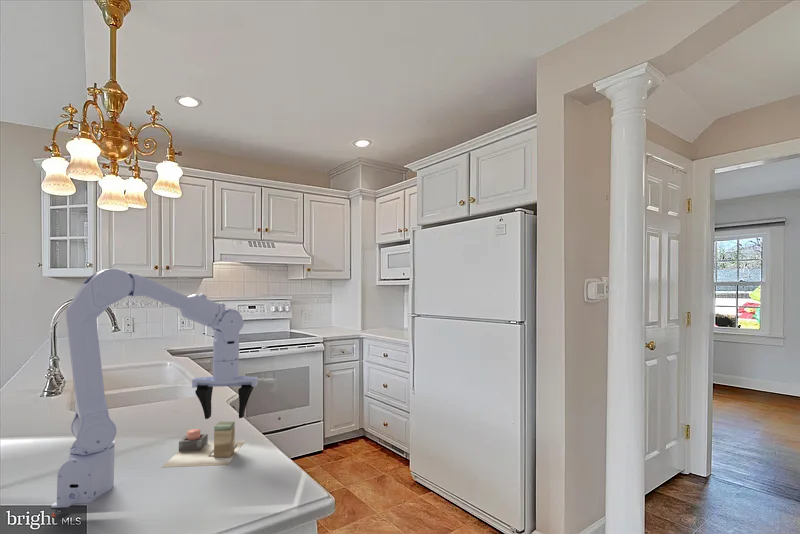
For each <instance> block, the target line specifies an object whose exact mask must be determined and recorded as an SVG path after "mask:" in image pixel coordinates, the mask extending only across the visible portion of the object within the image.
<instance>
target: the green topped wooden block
mask: <svg viewBox="0 0 800 534" xmlns="http://www.w3.org/2000/svg"><path fill="white" fill-rule="evenodd" d="M235 426H236V421H234V420H233V421H219V422H217V423H216V424H215V426H214V428H213V430H214V431H213V442H214V457H230V456H231V455H232V453H233V452H234V442H235V441H236V440H235V439H236V438H235V435H236V434H235V433H236V431H235V430H236V428H235Z"/></svg>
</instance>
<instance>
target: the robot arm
mask: <svg viewBox="0 0 800 534" xmlns="http://www.w3.org/2000/svg"><path fill="white" fill-rule="evenodd" d="M127 297H134V298H135V297H146V298H149V299H150V300H151V299H152V300H154V301H157V302H160V303H162V304H165V305H167V306H170V307H173V308H176V309H179V310H180V313H181V316H182V317H183V318H185V319H188V320H190V321H193V322H195V323H197V324H200V325H203V326H205V327H208V328H211V329H212V330H213V347H212V351H213V353H212V376H205V377H204V376H203V377H194V378H192V379H191V380H192V381H191V388H193V389H194V388H196V389H195V391H194V393H195V395H196V397H197V399H198V401H199V402H200V405H201V407H202V411H203V414H204V419H205V420H209V419H210V418H211V417H212V396H213V388H214V387H215V388H216V387H240V388H238V390H237V392H238V401H239V402H238V404H239V406H238V419H243V418H244V416H245V412H246V408H247V404H248V402H249V399H250V396H251V394H252V391H253V390H254V388H255V387H257V386H258V384H259V382H258V381H259V377H258V376H249V375H248V376H247V375H239V372H240V371H239V366H240V365H239V362H240V361H239V359H240V332H241V331H242V328H243V327H244V325H245V320H243V315H242V314H240V311H238V310H236V309H232V308H227V307H226V304H225V303H223V302H220V303H217V302H215V301H213V300H210V299H208V298H207V297H208V295H205V294H204V293H200V294H197V293H194V294H191V295H188V296H187V295H184V294H183V293H181V292H178V291H176V290H174V289H172V288H169V287H167V286H166V285H164V284H160V283H158V282H157V281H155V280H152V279H150V278H148V277H146V276H142V275H140V274H136V273H132V272H127V271H125V270H123V269H120V268H115V267H114V268H108V269H100V270H98V271H95V272H94V273H92V274H91V275H90V276H89V277H87V278H86V279H85V280H83V281H82V284H81V285H80V287H79V288H78V290H77V292H76V293H75V295H74V297H73V298H72V299H71V301H70V303H69V304H68V306H67V307H66V309H65V319H66V320H65V321H66V329H67V336H68V344H69V346H68V347H69V354H70V364H71V373H72V381H73V389H74V390H73V391H74V397H75V399H74V400H75V404H74V411H75V413H74V417H73V419H72V422H71V424H70V430H71V433H72V434H73V436H74V437H75V438H74V439H76V440H75V441H74V442H73V444H72V445H71V446H70V447H69V456H68V458H67V460H66V461H65V462H64V463H63V464H62V465H61V467H60V468H59V469H58V472H57V479H56V501H55V502H54V503H52V504H51V506H50V507H51V508H52V509H54V508H55V509H57V508H69V507H71V506H72V505H75V504H91V503H92V502H94V501H95V500H96V499H97V498H99V497H100V496H101V495H103V494H105V493H106V492H108V491H110V490H111V489H113V488H114V482H115V481H114V480H115V455H116V454H115V453H116V451H115V449H116V448H115V446H116V440H115V438H116V436H117V426H116V423H115V422H114V421H113V420H112V419H111V417H110V413H109V407H108V404H107V400H106V396H105V395H106V394H105V385H104V377H103V367H102V359H101V349H100V348H101V347H100V342H99V329H98V323H97V319H98V317H100V316H101V314H102V313H104V312H105V310H107V309H108V308H109V307H110V306H111V305H113V304H115V303H118V302H120V301H121V300H123V299H125V298H127Z"/></svg>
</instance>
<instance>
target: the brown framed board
mask: <svg viewBox="0 0 800 534" xmlns="http://www.w3.org/2000/svg"><path fill="white" fill-rule="evenodd" d="M245 442H246V440H235V442H234V452H233V453H232V455H231V456H230V457H214V441H209V434H208V433H200V439H199V440H187V434H186V435H185V436H184V437H183V438H181V439H180V440H179V441H178V451H177V452H176V453H175V454H174V455H173V456H172V457H171V458H170V459H168V461H166V462H165V463H164V464H163V465H162V466H161V468H179V467H182V468H183V467H184V468H185V467H209V466H228V465H229V464H230V462H231V461H232V460H233V458H234V457H235V455H236V454H237V453H238V452H239V451H240V449H241V447H243V444H244V443H245Z"/></svg>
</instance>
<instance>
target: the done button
mask: <svg viewBox="0 0 800 534" xmlns="http://www.w3.org/2000/svg"><path fill="white" fill-rule="evenodd" d="M200 434H201V429H198V428H193V429H189V430H187V431H186V435H187V440H199V439H200Z"/></svg>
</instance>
